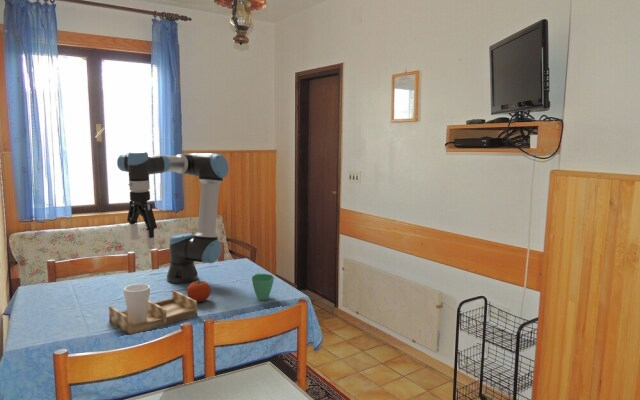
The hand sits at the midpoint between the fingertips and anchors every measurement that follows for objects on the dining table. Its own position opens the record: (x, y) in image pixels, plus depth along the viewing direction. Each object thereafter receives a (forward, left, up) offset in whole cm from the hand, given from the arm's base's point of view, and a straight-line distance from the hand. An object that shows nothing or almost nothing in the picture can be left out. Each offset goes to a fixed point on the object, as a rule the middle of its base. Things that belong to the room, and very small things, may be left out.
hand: (142, 242), depth 186 cm
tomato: (+5, +22, -30) cm, 38 cm away
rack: (+9, -1, -29) cm, 31 cm away
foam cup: (+9, -7, -28) cm, 31 cm away
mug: (+19, +46, -30) cm, 58 cm away
